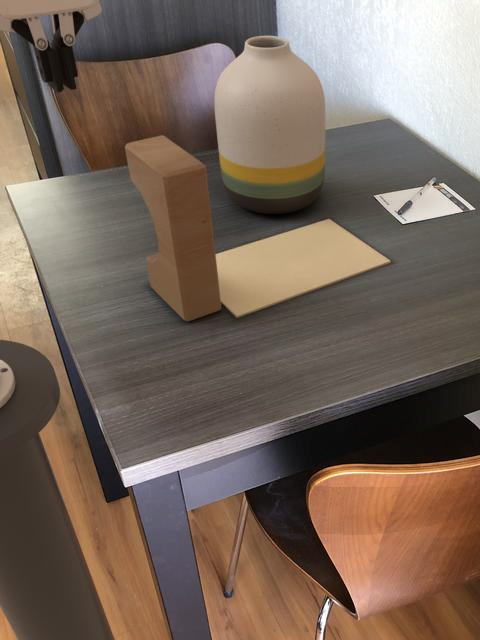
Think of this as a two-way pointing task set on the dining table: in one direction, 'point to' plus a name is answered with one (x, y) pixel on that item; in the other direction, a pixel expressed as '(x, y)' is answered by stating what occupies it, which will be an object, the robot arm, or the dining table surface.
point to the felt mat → (291, 266)
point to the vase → (270, 128)
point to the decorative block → (177, 225)
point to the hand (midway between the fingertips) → (62, 86)
